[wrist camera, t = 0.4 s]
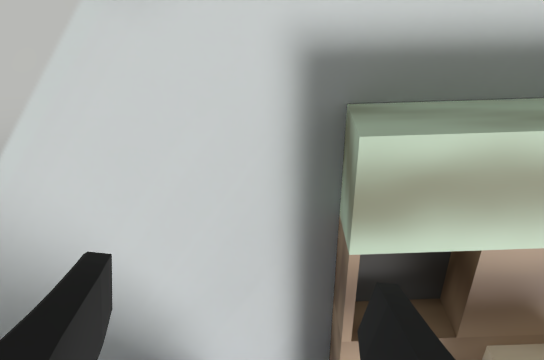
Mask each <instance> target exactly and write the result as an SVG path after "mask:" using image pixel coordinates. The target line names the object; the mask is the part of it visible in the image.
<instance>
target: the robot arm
mask: <svg viewBox="0 0 544 360" xmlns="http://www.w3.org/2000/svg"><path fill="white" fill-rule="evenodd" d="M111 312H112V254H104V253H95V252H86V253H85V254H83V255H82V257H81V258H80V259H79V260H78V262H77V263H76V264H75V265H74V266H73V267H72V269H71V270H70V271H69V272H68V273H67V274H66V275H65V276H64V278H63V279H62V280H61V281H60V282H59V283H58V284H57V285H56V286H55V287H54V288H53V290H52V291H51V292H50V293H49V294H48V295H47V296H46V297H45V298H44V299H43V300H42V301H41V302H40V303H39V304H38V305H37V306H36V307H35V308H34V309H33V310H32V311H31V312H30V313H29V314H28V315H27V316H26V317H25V318H24V319H23V320H22V321H20V322H19V323H18V324H17V325H16V326H15V327H14V328H13V329H12V330H11V331H10V332H9V333H7V334H6V335H5V336H4V337H3V338H2V339H1V340H0V360H97V359H98V356H99V354H100V351H101V348H102V346H103V342H104V339H105V335H106V331H107V327H108V323H109V319H110V315H111ZM357 333H358V343H359V353H360V360H456V359H455V358H454V357H453V356H452V355H451V353H450V352H449V351H448V350H447V349H446V347H445V346H444V345H443V344H442V342H441V341H440V340H439V339H438V337H437V336H436V335H435V333H434V332H433V331H432V330H431V328H430V327H429V326H428V324H427V323H426V322H425V320H424V319H423V318H422V316H421V315H420V314H419V312H418V311H417V310H416V308H415V307H414V306H413V304H412V303H411V301H410V300H409V299H408V297H407V296H406V295H405V293H404V292H403V291H402V289H401V288H400V287H399V285H398V284H389V283H380V282H377V283H376V285H375V288H374V290H373V293H372V295H371V298H370V300H369V303H368V306H367V308H366V311H365V313H364V316H363V318H362V321H361V323H360V326H359V328H358V331H357Z"/></svg>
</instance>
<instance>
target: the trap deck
mask: <svg viewBox="0 0 544 360" xmlns="http://www.w3.org/2000/svg"><path fill="white" fill-rule="evenodd" d="M377 282H380V283H389V284H398V285H399V287H400V288H401V289H402V291H403V292H404V293H405V295H406V296H407V297H408V299H409V300H410V301H411V303H412V304H413V306H414V307H415V308H416V310H417V311H418V312H419V314H420V315H421V316H422V318H423V319H424V320H425V322H426V323H427V324H428V326H429V327H430V328H431V330H432V331H433V332H434V333H435V335H436V336H437V337H438V339H439V340H440V341H441V342H442V344H443V345H444V346H445V347H446V349H447V350H448V351H449V352H450V353H451V355H452V356H453V357H454V358H455V359H456V360H482V358H483V356H484V353H485V350H486V347H487V346H494V345H522V344H544V98H531V99H499V100H466V101H434V102H401V103H369V104H347V115H346V129H345V144H344V158H343V172H342V186H341V201H340V215H339V229H338V243H337V257H336V272H335V286H334V300H333V314H332V329H331V343H330V357H329V360H360V353H359V343H358V333H357V331H358V328H359V326H360V323H361V321H362V318H363V316H364V313H365V311H366V308H367V306H368V303H369V300H370V298H371V295H372V293H373V290H374V288H375V285H376V283H377Z"/></svg>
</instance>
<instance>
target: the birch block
mask: <svg viewBox="0 0 544 360" xmlns="http://www.w3.org/2000/svg"><path fill="white" fill-rule="evenodd" d="M482 360H544V344H522V345H494V346H487V347H486V350H485V353H484V356H483V358H482Z"/></svg>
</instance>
